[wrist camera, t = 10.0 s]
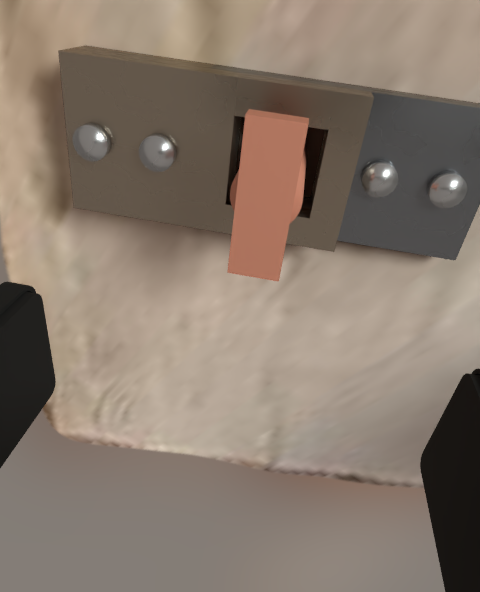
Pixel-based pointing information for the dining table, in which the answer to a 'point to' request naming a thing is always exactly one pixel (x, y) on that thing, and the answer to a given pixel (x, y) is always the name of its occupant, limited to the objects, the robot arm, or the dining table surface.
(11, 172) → the dining table surface
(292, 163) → the orange t-shaped block
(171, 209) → the studded slotted plate
